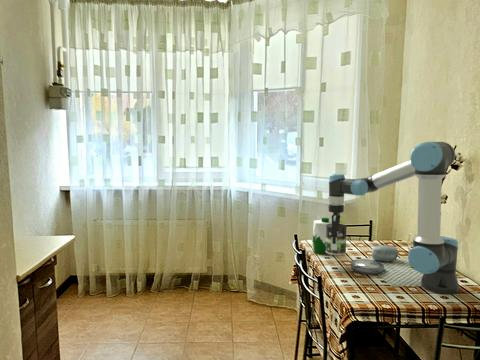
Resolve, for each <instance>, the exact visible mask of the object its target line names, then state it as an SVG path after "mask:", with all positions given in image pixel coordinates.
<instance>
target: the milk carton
mask: <svg viewBox="0 0 480 360" xmlns="http://www.w3.org/2000/svg"><path fill="white" fill-rule="evenodd" d="M327 224H331V223H330V218H329V217H321V219H319V220H316V219H315V220H313V226H312V227H313V228H312V229H313V230H312V247H313V251H314V254H316V255H319V254H320V255H329V254H328V253H326V225H327Z"/></svg>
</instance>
